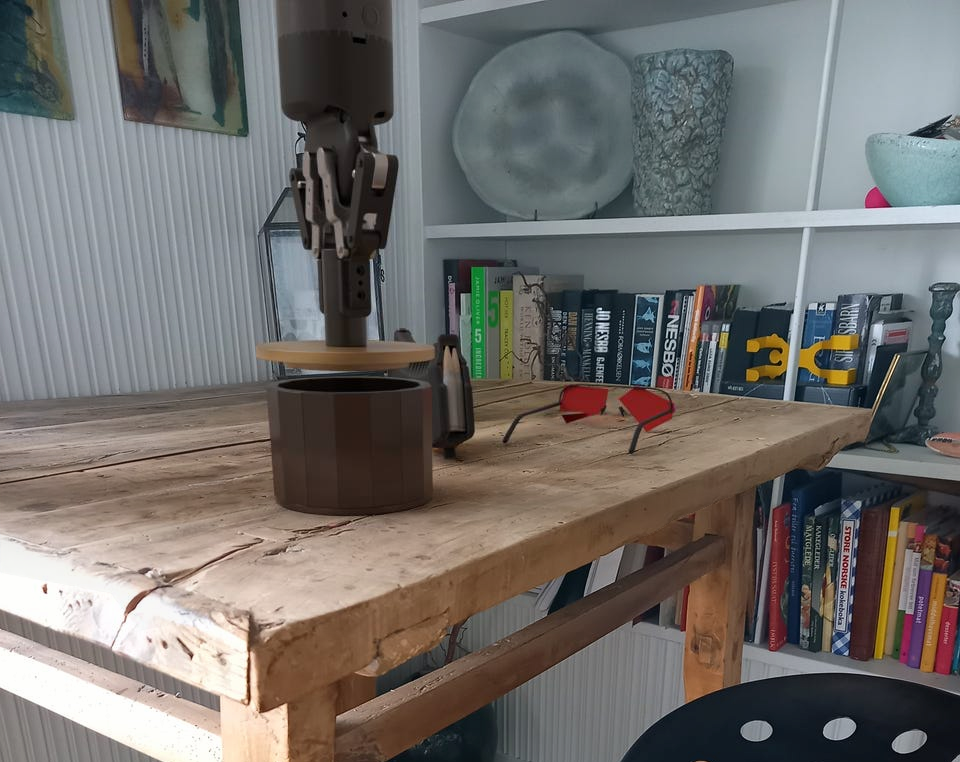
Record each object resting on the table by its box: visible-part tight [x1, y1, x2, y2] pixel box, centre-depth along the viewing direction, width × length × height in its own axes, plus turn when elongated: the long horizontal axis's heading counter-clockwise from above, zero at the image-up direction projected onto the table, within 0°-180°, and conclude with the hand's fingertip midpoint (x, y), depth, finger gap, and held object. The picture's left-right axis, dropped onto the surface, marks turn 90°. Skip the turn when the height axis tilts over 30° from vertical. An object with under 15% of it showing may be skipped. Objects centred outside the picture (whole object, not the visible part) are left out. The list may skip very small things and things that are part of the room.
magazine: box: [386, 327, 476, 460], centre depth 97 cm, size 17×3×30 cm
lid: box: [255, 249, 435, 372], centre depth 67 cm, size 13×13×8 cm
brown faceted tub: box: [266, 375, 434, 516], centre depth 71 cm, size 12×12×8 cm
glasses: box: [501, 383, 677, 455], centre depth 99 cm, size 14×16×5 cm
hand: (345, 314), depth 68 cm, fingers closed on lid, 3 cm apart
